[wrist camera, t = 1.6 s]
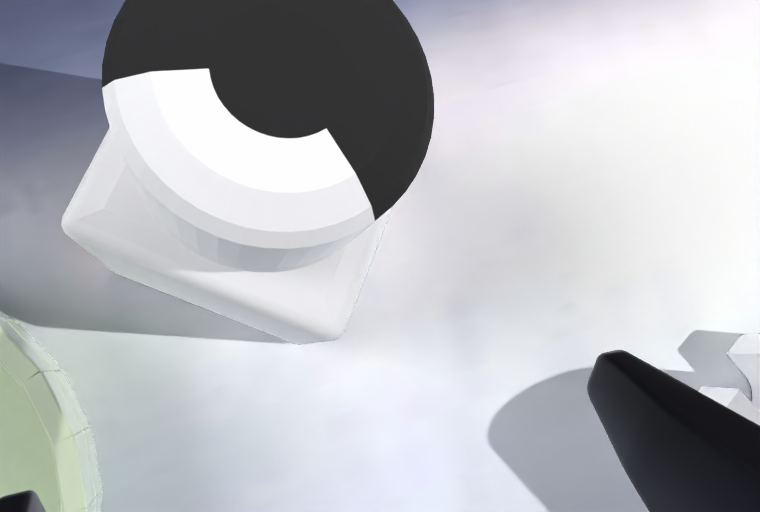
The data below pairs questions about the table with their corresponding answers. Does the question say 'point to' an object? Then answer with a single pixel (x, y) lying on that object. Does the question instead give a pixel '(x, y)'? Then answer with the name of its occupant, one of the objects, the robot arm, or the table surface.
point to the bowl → (43, 428)
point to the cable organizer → (756, 361)
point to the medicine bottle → (255, 154)
